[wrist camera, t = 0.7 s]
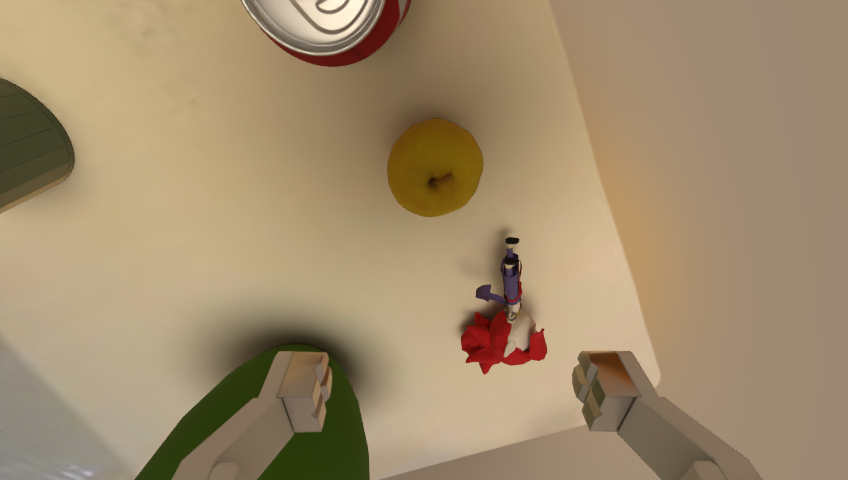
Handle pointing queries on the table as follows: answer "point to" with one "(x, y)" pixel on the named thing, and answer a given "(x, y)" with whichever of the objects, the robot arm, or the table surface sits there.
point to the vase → (302, 455)
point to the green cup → (29, 147)
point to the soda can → (328, 27)
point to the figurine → (504, 324)
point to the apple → (434, 168)
